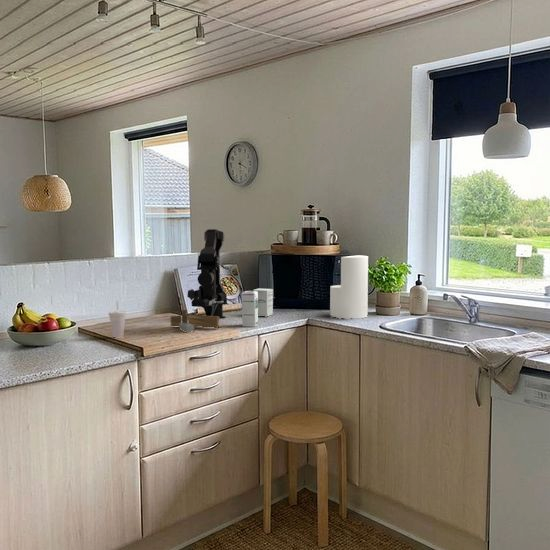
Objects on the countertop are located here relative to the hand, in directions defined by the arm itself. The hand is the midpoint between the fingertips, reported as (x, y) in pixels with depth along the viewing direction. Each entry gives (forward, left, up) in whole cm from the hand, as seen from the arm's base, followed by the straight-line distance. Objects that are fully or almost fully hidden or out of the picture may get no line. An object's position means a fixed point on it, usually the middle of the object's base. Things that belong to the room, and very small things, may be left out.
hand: (209, 320), depth 232 cm
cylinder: (+4, +68, -3) cm, 68 cm away
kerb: (+2, -11, -3) cm, 11 cm away
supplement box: (-17, +34, -3) cm, 38 cm away
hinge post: (-7, -10, -3) cm, 13 cm away
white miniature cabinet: (+4, +17, -3) cm, 18 cm away
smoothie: (+3, -38, -3) cm, 38 cm away
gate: (0, -3, -3) cm, 4 cm away
